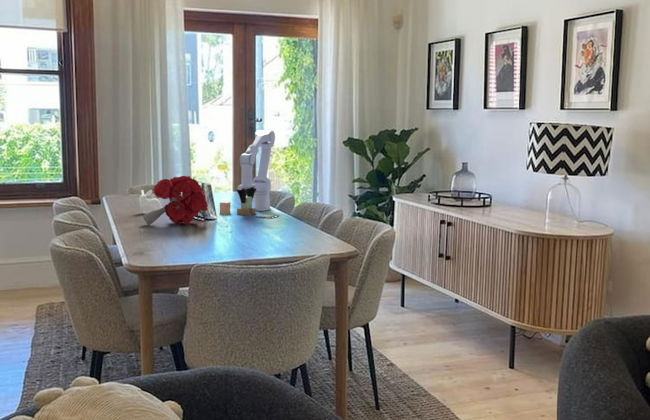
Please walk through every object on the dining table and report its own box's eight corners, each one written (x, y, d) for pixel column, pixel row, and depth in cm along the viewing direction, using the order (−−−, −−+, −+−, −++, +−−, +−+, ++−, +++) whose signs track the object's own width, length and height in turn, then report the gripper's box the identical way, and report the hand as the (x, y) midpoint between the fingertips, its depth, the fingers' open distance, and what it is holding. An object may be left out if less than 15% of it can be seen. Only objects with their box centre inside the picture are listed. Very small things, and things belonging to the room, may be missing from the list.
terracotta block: (223, 212, 342) (224, 201, 341) (230, 213, 340) (230, 202, 339) (219, 213, 338) (219, 202, 337) (226, 214, 336) (226, 203, 336)
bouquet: (161, 244, 287) (218, 209, 295) (132, 198, 281) (192, 164, 289) (155, 238, 307) (209, 206, 315) (129, 196, 301) (185, 164, 310)
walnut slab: (244, 213, 344) (244, 206, 344) (255, 214, 341) (255, 208, 341) (237, 215, 338) (237, 208, 337) (248, 216, 335) (248, 209, 334)
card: (265, 215, 338) (265, 213, 338) (279, 216, 335) (279, 215, 335) (255, 217, 329) (255, 216, 329) (269, 219, 326) (269, 217, 326)
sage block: (245, 207, 342) (245, 196, 341) (251, 208, 340) (251, 196, 339) (241, 208, 338) (241, 196, 337) (246, 209, 336) (247, 197, 335)
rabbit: (139, 214, 327) (139, 190, 326) (138, 211, 336) (138, 188, 334) (163, 214, 331) (163, 190, 329) (162, 211, 340) (162, 188, 338)
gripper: (247, 175, 345) (247, 200, 347) (232, 177, 332) (232, 203, 334) (259, 176, 342) (258, 201, 344) (244, 178, 329) (244, 204, 331)
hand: (246, 202), depth 339 cm, fingers open, 6 cm apart
